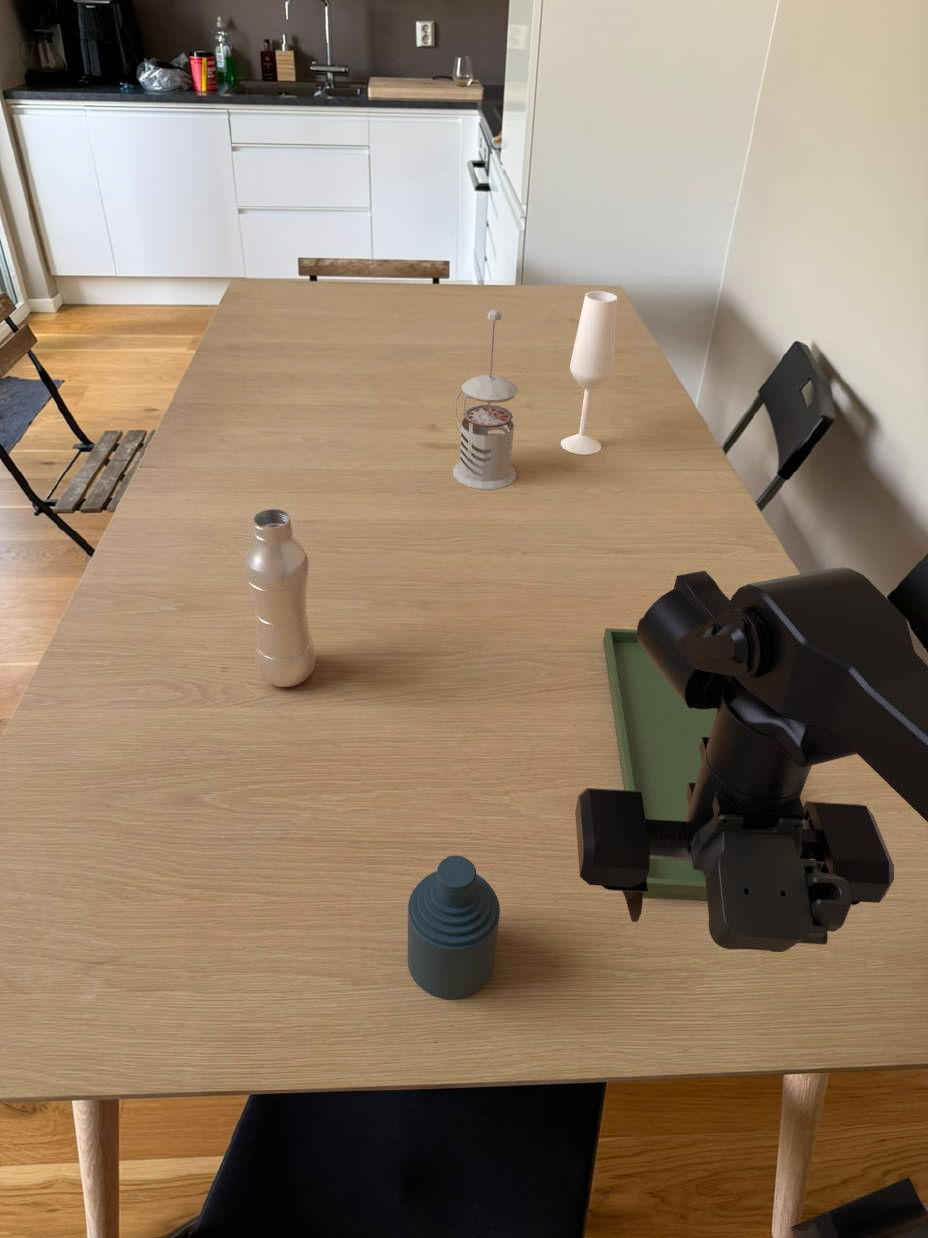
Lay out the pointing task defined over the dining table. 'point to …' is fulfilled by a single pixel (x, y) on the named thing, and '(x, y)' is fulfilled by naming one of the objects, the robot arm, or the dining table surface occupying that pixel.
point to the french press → (486, 430)
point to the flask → (452, 930)
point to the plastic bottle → (279, 600)
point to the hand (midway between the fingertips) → (700, 920)
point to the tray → (656, 750)
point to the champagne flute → (592, 360)
